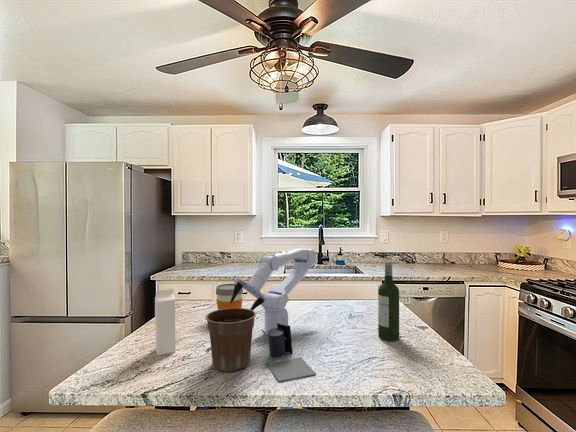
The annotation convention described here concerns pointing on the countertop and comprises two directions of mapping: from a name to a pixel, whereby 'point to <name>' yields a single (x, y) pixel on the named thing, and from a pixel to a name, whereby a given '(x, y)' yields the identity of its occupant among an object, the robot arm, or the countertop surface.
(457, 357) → the countertop surface
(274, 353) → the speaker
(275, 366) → the mat
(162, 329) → the milk
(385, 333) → the wine bottle
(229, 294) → the reusable coffee cup
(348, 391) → the countertop surface
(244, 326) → the plant pot
